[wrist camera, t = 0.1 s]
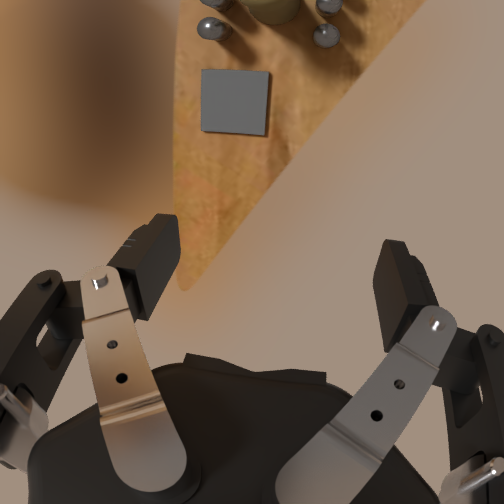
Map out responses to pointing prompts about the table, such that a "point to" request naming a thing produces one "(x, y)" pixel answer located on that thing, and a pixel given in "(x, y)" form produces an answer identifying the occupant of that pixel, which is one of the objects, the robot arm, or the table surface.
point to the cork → (273, 10)
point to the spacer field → (219, 30)
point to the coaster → (234, 101)
